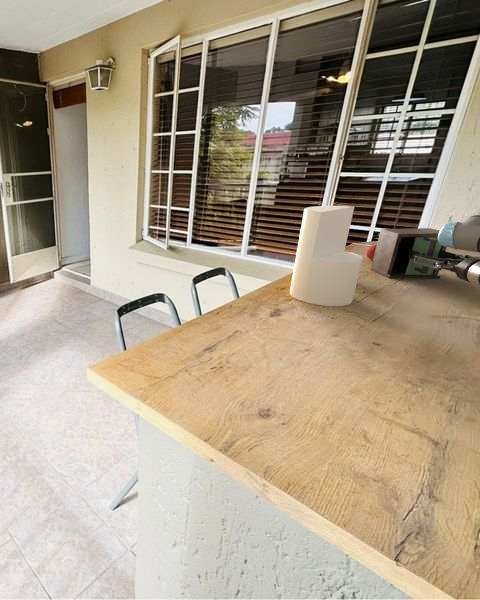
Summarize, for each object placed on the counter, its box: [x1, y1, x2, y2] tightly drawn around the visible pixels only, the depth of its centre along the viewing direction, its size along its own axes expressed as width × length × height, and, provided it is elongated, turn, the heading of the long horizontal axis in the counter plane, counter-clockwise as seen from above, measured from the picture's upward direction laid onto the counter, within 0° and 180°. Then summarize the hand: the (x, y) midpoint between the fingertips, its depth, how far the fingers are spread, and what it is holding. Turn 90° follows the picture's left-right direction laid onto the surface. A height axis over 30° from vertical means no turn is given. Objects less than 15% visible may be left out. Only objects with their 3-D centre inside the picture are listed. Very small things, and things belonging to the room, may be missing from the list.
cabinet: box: [370, 227, 448, 280], centre depth 128 cm, size 12×16×16 cm
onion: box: [365, 243, 377, 262], centre depth 147 cm, size 6×6×8 cm
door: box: [405, 237, 441, 275], centre depth 121 cm, size 6×8×14 cm
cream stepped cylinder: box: [289, 205, 364, 307], centre depth 109 cm, size 17×17×28 cm
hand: (424, 253), depth 123 cm, fingers closed on door, 8 cm apart
